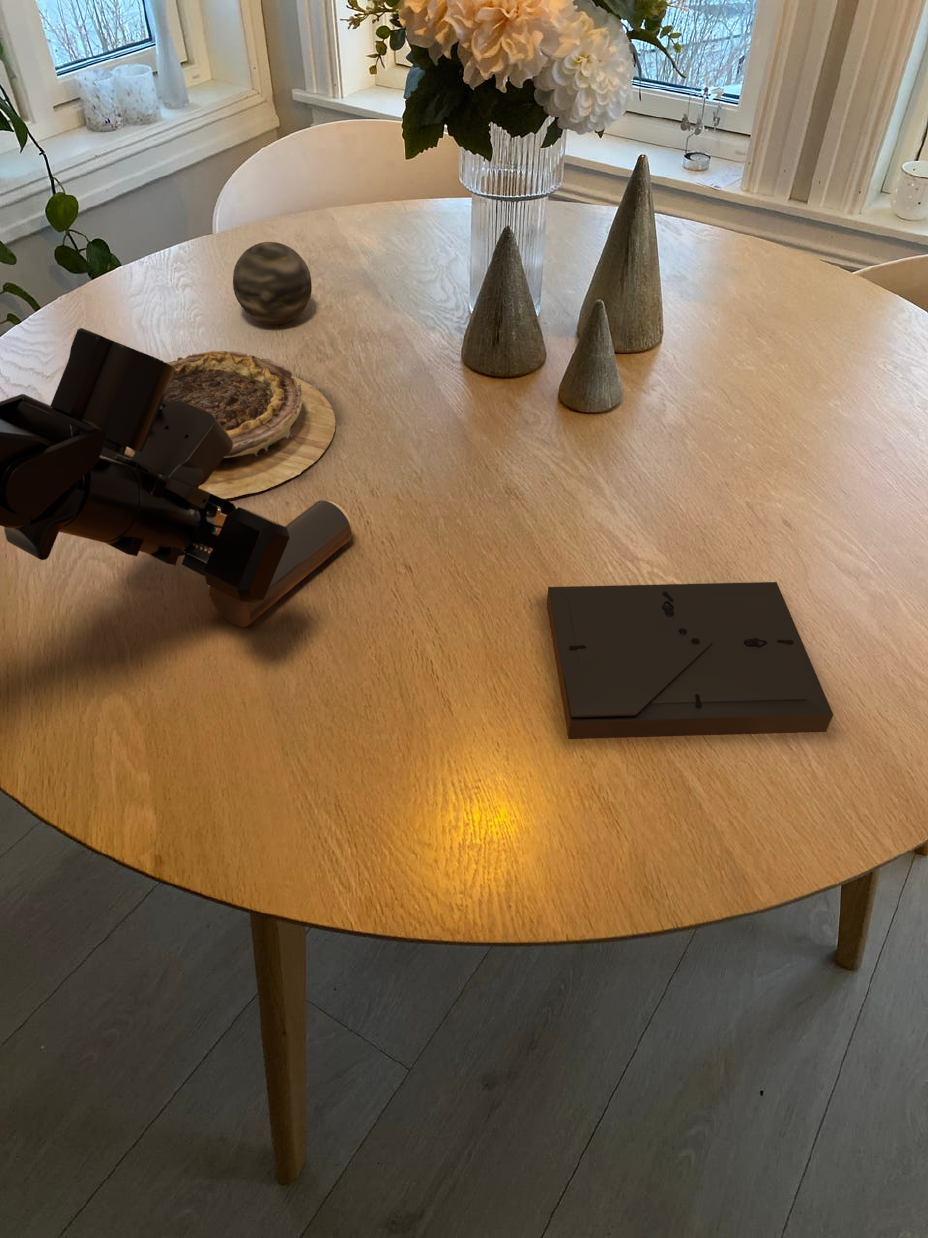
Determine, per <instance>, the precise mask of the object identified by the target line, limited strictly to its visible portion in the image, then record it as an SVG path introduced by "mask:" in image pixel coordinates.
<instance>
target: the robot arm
mask: <svg viewBox="0 0 928 1238" xmlns="http://www.w3.org/2000/svg"><path fill="white" fill-rule="evenodd" d="M161 360H162V359H159V358H157V357H155V356H152V355H150V354H147V353H145V352H142V351H140V350H137V349H135V348H133V347H130V346H127V345H125V344H123V343H119V342H117V341H115V340H113V339H110V338H107V337H105V336H103V335H101V334H99V333H96V332H93V331H91V330H88V329H86V328H83V327H80V328H77V330H76V333H75V335H74V338H73V340H72V343H71V346H70V351H69V355H68V359H67V363H66V365H65V368H64V371H63V373H62V375H61V378H60V380H59V383H58V385H57V388H56V390H55V393H54V395H53V398H52V400H51V403H50V404H48V403H46V402H42V401H40V400H39V399H36V398H33V397H32V396H29V395H27V394H25V393H21V394H18V395H15V396H12V397H9V398H6V399H3V400H1V401H0V526H1V527H4V528H3V531H4V534H5V538H6V541H7V542H8V543H9V544H11V545H13V546H14V547H16V548H19V549H20V550H21V551H24V552H25V553H27V554H29V555H31V556H32V557H35V558H36V559H38V560H41V561H46V560H47V559H48V558H50V555H51V553H52V550H53V547H54V545H55V542H56V540H57V538H58V535H59V533H62V534H66V535H70V536H75V537H79V538H83V539H86V540H92V541H95V542H99V543H104V544H106V545H108V546H110V547H112V548H114V549H116V550H118V551H120V552H122V553H124V554H126V555H128V556H133V557H138V555H139V552H141V553H145V554H147V555H149V556H151V557H153V558H155V559H157V560H159V561H160V562H162V563H165V564H167V565H171V566H176V564H177V563H178V560H179V558H180V557H183V556H184V557H183V559H182V562H181V566H183V567H186V568H187V569H189V570H191V571H193V572H195V573H197V574H199V575H200V576H203V577H204V579H205V583H206V585H207V586H208V587H209V586H211V587H213V588H215V589H217V590H219V591H221V592H223V593H225V594H227V595H229V596H231V597H233V598H234V599H236V600H238V601H240V602H245V603H250V604H257V603H259V602H261V601H263V600H264V598H265V596H266V593H267V591H268V589H269V586H270V584H271V581H272V579H273V577H274V574H275V572H276V570H277V567H278V565H279V562H280V560H281V558H282V555H283V553H284V550H285V548H286V546H287V543H288V541H289V539H290V536H289V532H288V529H287V527H285V526H286V525H283V524H280V523H278V522H276V521H274V520H271V519H270V518H267V517H265V516H264V515H260V514H259V513H256V512H253V511H251V510H249V509H246V508H243V507H240V506H238V507H236V505H235V504H234V503H233V502H231V501H228V500H227V499H222V498H220V497H218V496H216V495H213V494H210V493H209V492H207V491H205V490H203V489H200V488H199V486H200V485H202V484H204V483H205V482H206V481H207V480H208V478H209V477H210V476H211V474H212V473H213V472H214V470H215V469H216V467H217V466H218V465H219V463H220V462H221V461H222V459H223V458H224V457H225V456H227V455H228V454H229V453H230V451H231V450H232V447H233V442H232V440H231V438H230V437H229V436H228V434H227V433H226V432H225V430H224V429H223V428H222V426H221V425H220V424H219V423H218V421H217V420H216V419H215V417H214V416H213V415H212V414H211V413H209V412H206V411H204V410H202V409H199V408H197V407H194V406H192V405H190V404H187V403H185V402H182V401H173V402H169V401H167V400H165V399H164V397H165V394H166V392H167V389H168V387H169V384H170V382H171V380H172V377H173V375H174V372H175V370H176V369H175V368H174V367H172V366H171V365H169V364H167V362H166V361H164V360H163V361H161ZM161 405H162V406H161ZM127 447H129V448H131V449H133V450H134V451H135V454H134V455H133V456H131V455H129V454H126V453H125V451H126V448H127Z"/></svg>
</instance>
